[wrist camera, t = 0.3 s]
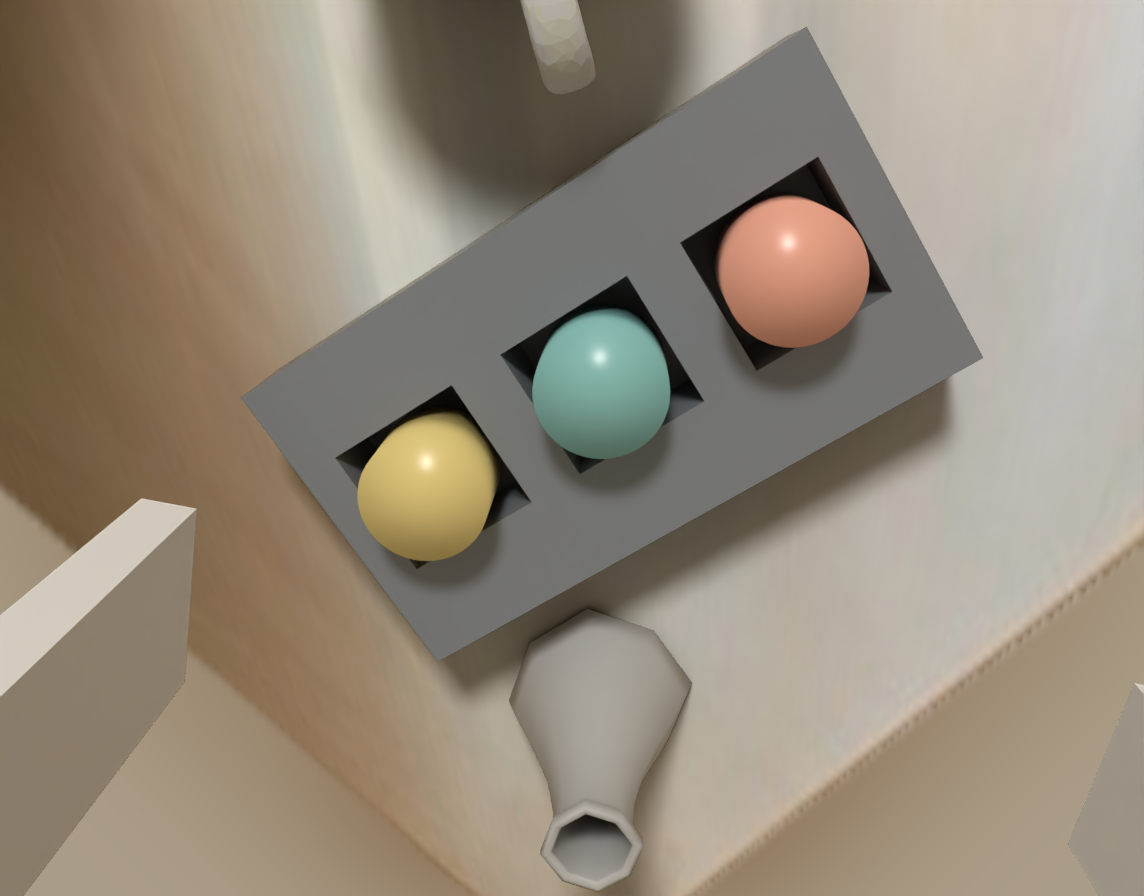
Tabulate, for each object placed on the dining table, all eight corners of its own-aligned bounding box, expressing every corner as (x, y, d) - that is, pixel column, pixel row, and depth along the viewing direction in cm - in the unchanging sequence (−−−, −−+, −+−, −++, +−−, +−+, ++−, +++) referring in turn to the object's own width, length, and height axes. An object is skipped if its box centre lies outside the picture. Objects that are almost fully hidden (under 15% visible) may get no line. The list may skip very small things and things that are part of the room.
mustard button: (358, 445, 38) (330, 479, 34) (457, 384, 37) (439, 413, 33) (427, 540, 39) (407, 582, 35) (524, 483, 38) (513, 521, 34)
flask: (479, 699, 44) (437, 863, 34) (583, 577, 42) (569, 714, 32) (615, 791, 45) (611, 974, 35) (722, 676, 43) (749, 837, 33)
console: (277, 369, 40) (240, 397, 36) (787, 36, 35) (806, 27, 31) (454, 612, 42) (437, 661, 39) (947, 332, 38) (983, 357, 34)
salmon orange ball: (689, 239, 35) (696, 253, 31) (805, 167, 34) (825, 173, 31) (754, 348, 36) (767, 373, 32) (868, 280, 35) (895, 299, 32)
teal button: (517, 346, 36) (505, 371, 33) (624, 280, 35) (623, 298, 32) (584, 447, 37) (579, 483, 34) (689, 386, 37) (695, 415, 33)
